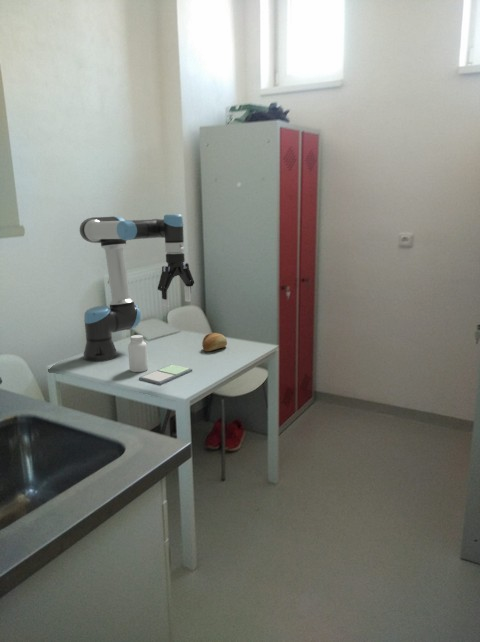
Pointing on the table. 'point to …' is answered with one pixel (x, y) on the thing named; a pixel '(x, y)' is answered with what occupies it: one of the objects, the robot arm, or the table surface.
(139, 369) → the pill bottle
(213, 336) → the bread roll
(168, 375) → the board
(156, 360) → the table surface
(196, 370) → the table surface
